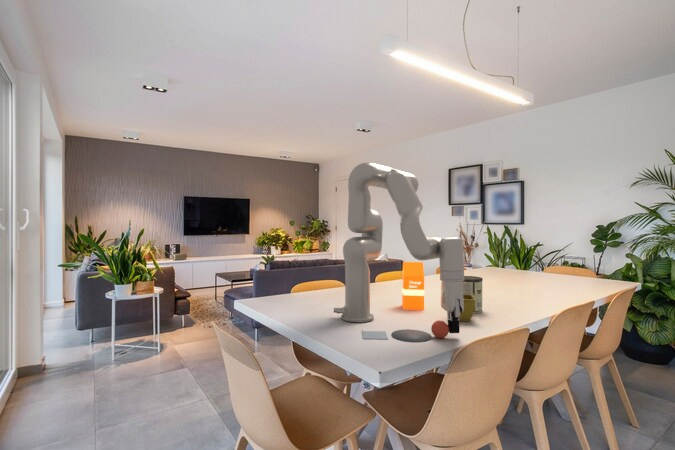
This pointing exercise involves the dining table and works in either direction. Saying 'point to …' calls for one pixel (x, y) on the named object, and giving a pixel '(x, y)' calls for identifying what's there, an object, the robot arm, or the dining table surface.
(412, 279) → the orange juice
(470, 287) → the coffee can
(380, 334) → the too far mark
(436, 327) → the ball
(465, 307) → the flower pot
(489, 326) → the dining table surface
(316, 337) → the dining table surface
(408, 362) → the dining table surface
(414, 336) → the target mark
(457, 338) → the dining table surface
